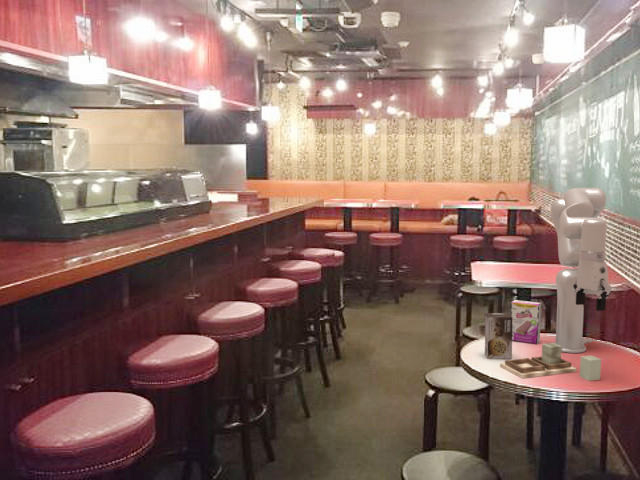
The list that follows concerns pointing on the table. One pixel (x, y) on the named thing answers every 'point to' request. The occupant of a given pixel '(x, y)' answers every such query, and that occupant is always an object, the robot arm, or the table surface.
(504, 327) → the cookie box
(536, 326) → the candy bar box
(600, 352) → the table surface
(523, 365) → the socket base
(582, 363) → the sage block
